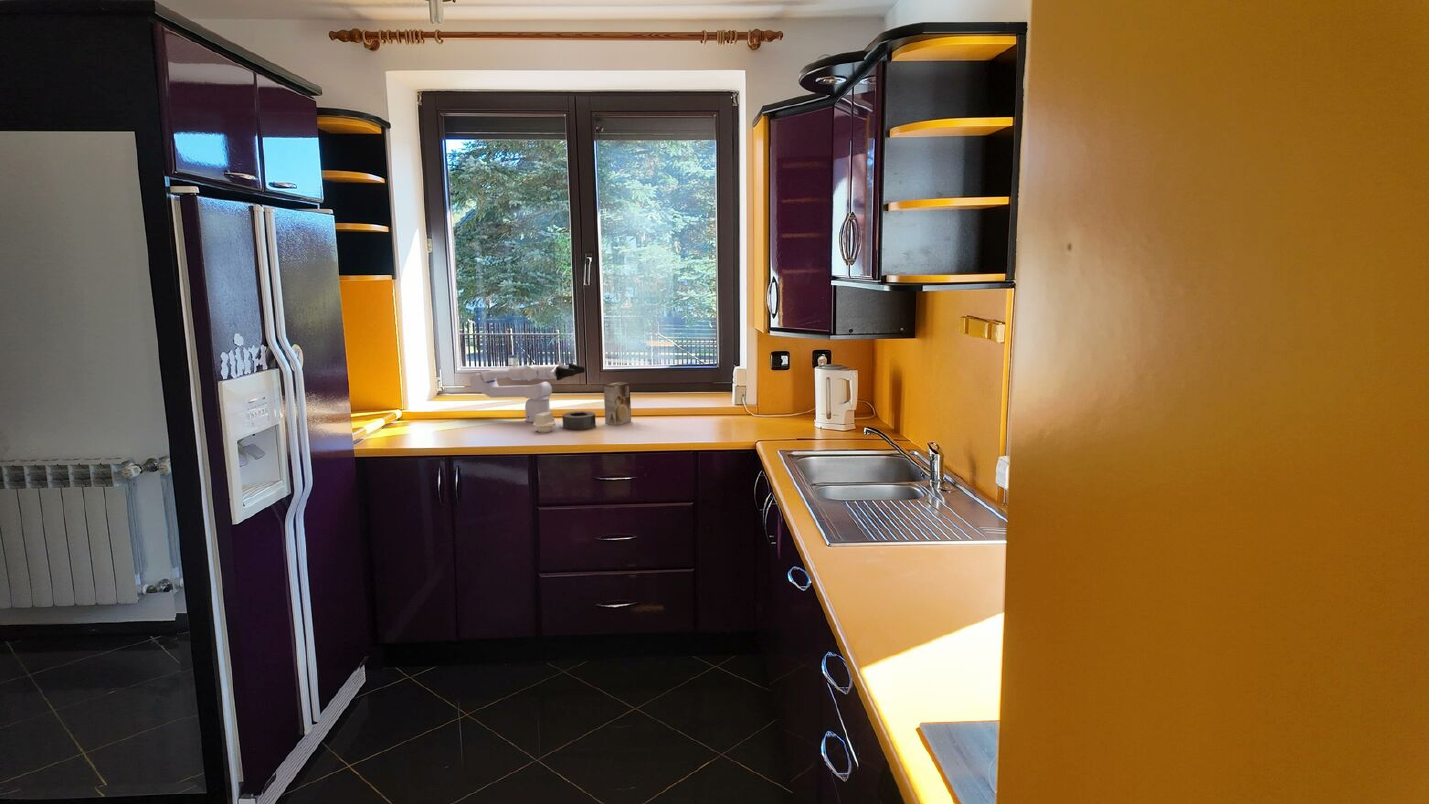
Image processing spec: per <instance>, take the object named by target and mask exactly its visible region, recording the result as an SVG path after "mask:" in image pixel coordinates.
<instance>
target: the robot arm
mask: <svg viewBox="0 0 1429 804" xmlns="http://www.w3.org/2000/svg"><path fill="white" fill-rule="evenodd" d="M585 372H586V368H585V366H582V365H577V364H576V363H573V362H568V365H565V364H563V363H562V361H557V364H540V365H538V364H530V365H528V364H523V365H518V364H513V365H512V366H510V367H509V368H508V369H490V370H486V371H483V372H478V373H472V374H471V375H470V377H469V383H470V384H469V385H471V388H473V391H476V392H480V393H482V394H484V395H486V396H487V397H489V398H492V399H493V398H494V399H495V398H525V399H527V400H526V402H525V405H524V413H525V419H524V422H527V423H528V422H530V423H534V422H536V421H535V415H537V414H540V413H543V412H550V409H551V408H550V396H551V395H552V393H553V387H552V384H550V382H548V381H542V382H539V383H536V384H529V385H528V384H527V385H526V384H525V385H524V384H523V385H499V384H498V381H497V379H502V378H509V379H510V380H511V381H523V380H524V381H525V380H527V381H529V382H531V381H532V380H553V379H554V380H556V381H561V380H563V379H564V378H569V377H570V378H572V377H574V376H575V375H579V374H582V373H585ZM550 413H551V412H550ZM553 420H555V418H554V417H553Z"/></svg>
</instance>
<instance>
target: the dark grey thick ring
mask: <svg viewBox="0 0 1429 804" xmlns="http://www.w3.org/2000/svg"><path fill="white" fill-rule="evenodd" d="M561 417H562V429H564V430H566V431H585V430H591V429H592V430H593V429H594V428H597V427H596V426H597V425H596V423H597V422H596V412H593V411H588V410H587V411H586V410H578V411H569V412H564V413H562V415H561Z"/></svg>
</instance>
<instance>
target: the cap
mask: <svg viewBox="0 0 1429 804" xmlns="http://www.w3.org/2000/svg"><path fill="white" fill-rule="evenodd" d="M553 418H554V417H553V412H543V413H540V414H537V415H535V421H536V422H532V423H533V426H534V427H537V432H538V433H550V432H552V431H553V427H554V426H555V425H556V421H555V420H554V419H553Z"/></svg>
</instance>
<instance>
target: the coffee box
mask: <svg viewBox="0 0 1429 804" xmlns="http://www.w3.org/2000/svg"><path fill="white" fill-rule="evenodd" d="M603 399H604V400H603V401H604V404H603V405H604V423H605V424H606V425H613V426H618V425H622V424H623V425H624V424H626V423H630V422H632V409H631V408H632V406H631V402H632V401H631V384H630V382H623V381H616V382H612V383H607V384H603Z"/></svg>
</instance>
